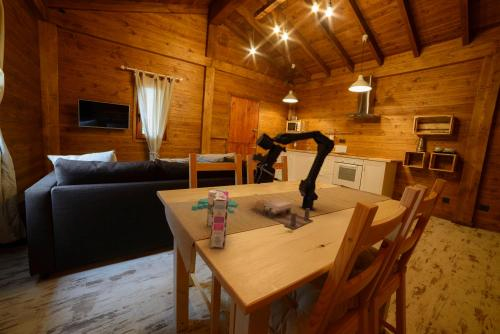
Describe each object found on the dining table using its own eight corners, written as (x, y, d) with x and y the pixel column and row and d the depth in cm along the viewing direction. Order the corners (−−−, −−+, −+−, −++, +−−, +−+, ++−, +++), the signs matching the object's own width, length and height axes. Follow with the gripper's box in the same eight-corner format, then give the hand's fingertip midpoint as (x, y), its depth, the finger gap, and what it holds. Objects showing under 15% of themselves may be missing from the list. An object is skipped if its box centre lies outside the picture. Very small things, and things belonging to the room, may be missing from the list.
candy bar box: (225, 249, 72) (228, 200, 70) (209, 248, 71) (212, 199, 69) (226, 233, 83) (228, 191, 81) (212, 233, 82) (215, 190, 80)
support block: (262, 206, 116) (263, 199, 116) (269, 208, 113) (270, 202, 112) (256, 207, 113) (256, 201, 112) (263, 210, 109) (263, 203, 109)
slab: (276, 202, 113) (276, 198, 113) (291, 207, 107) (291, 203, 106) (263, 205, 106) (264, 201, 105) (278, 211, 100) (279, 206, 99)
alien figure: (233, 215, 103) (239, 203, 122) (233, 211, 102) (239, 199, 122) (191, 211, 105) (204, 199, 124) (191, 206, 104) (204, 195, 124)
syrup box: (225, 224, 92) (227, 190, 89) (218, 229, 86) (221, 193, 84) (213, 221, 93) (215, 188, 91) (206, 226, 88) (207, 191, 86)
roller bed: (268, 205, 121) (269, 194, 120) (312, 221, 102) (314, 209, 101) (247, 210, 109) (248, 199, 109) (293, 230, 91) (294, 216, 90)
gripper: (255, 147, 117) (240, 172, 117) (262, 146, 98) (244, 176, 98) (273, 158, 119) (257, 182, 119) (283, 159, 100) (265, 188, 100)
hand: (256, 182), depth 109 cm, fingers open, 9 cm apart
